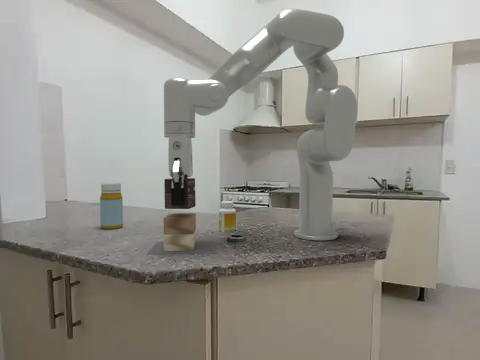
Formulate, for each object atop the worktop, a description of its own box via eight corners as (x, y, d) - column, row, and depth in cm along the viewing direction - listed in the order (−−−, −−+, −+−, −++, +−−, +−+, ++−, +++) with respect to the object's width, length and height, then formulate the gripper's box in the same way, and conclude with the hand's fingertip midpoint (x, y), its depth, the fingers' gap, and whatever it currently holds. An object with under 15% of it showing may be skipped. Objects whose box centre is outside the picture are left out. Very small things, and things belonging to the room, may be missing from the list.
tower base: (195, 243, 84) (195, 228, 83) (193, 250, 77) (193, 234, 76) (168, 244, 83) (168, 228, 83) (163, 251, 76) (163, 234, 76)
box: (187, 210, 76) (187, 179, 76) (163, 209, 77) (163, 178, 77) (196, 206, 82) (195, 178, 82) (173, 206, 83) (173, 177, 83)
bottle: (101, 226, 111) (101, 183, 110) (123, 225, 113) (122, 182, 112) (99, 230, 104) (98, 184, 103) (122, 229, 106) (121, 183, 105)
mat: (217, 243, 86) (217, 241, 86) (216, 255, 74) (216, 253, 74) (157, 244, 86) (157, 241, 86) (146, 256, 74) (146, 254, 74)
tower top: (195, 228, 83) (195, 213, 83) (193, 234, 76) (193, 217, 76) (168, 228, 83) (168, 213, 83) (163, 234, 76) (163, 217, 76)
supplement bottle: (239, 231, 102) (239, 201, 101) (230, 235, 97) (230, 203, 96) (225, 230, 104) (224, 200, 104) (215, 233, 100) (215, 202, 99)
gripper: (191, 127, 70) (192, 207, 71) (197, 134, 88) (198, 199, 88) (157, 126, 70) (158, 208, 71) (170, 134, 87) (170, 199, 88)
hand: (180, 202), depth 79 cm, fingers closed on box, 6 cm apart
